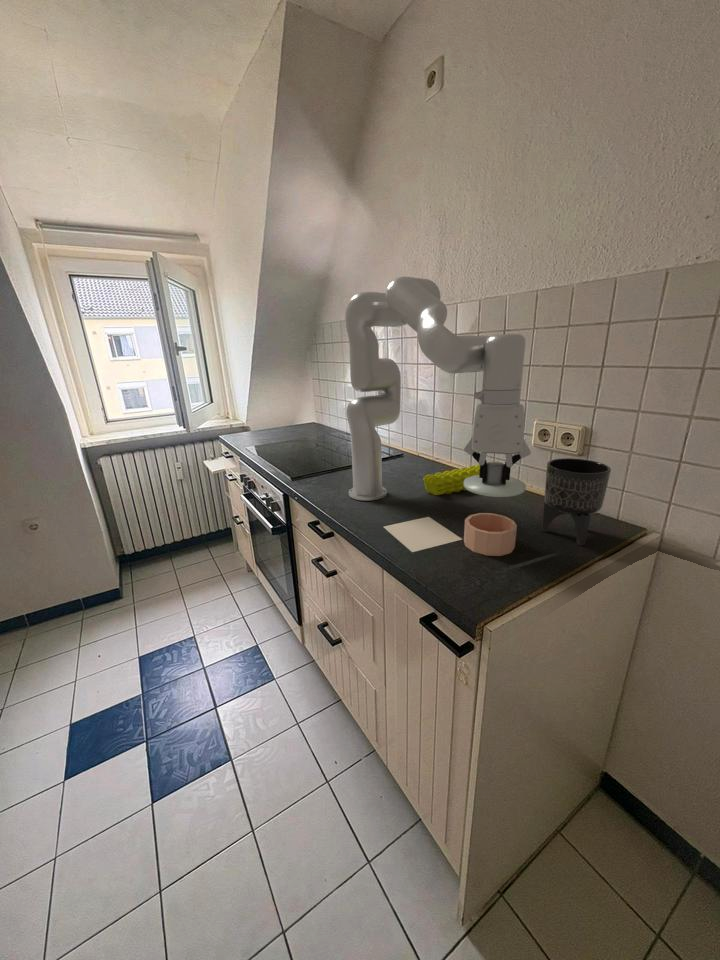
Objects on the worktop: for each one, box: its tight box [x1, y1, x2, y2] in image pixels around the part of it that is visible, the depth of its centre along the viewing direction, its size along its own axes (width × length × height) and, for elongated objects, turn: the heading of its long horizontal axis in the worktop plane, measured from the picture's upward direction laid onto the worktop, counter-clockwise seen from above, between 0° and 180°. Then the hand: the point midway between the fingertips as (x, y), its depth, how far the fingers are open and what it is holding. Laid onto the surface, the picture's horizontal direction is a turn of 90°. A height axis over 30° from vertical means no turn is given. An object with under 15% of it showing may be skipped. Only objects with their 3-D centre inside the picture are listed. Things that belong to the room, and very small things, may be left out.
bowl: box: [463, 512, 518, 557], centre depth 88 cm, size 11×11×6 cm
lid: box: [464, 461, 527, 498], centre depth 83 cm, size 13×13×5 cm
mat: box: [383, 516, 464, 553], centre depth 95 cm, size 15×14×1 cm
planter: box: [541, 457, 612, 546], centre depth 90 cm, size 13×13×18 cm
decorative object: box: [422, 464, 480, 496], centre depth 126 cm, size 7×33×7 cm, turn 116°
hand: (494, 481), depth 83 cm, fingers closed on lid, 3 cm apart
